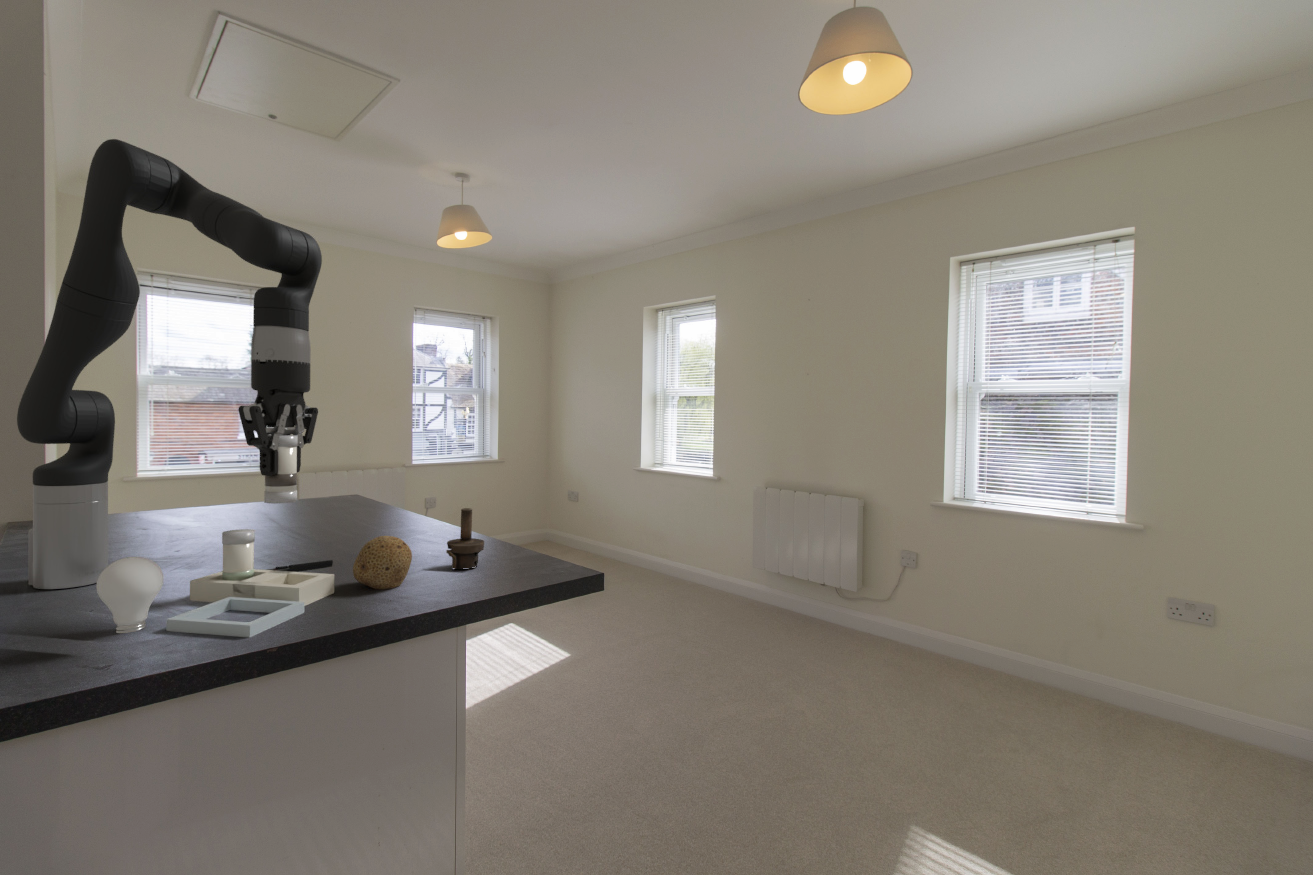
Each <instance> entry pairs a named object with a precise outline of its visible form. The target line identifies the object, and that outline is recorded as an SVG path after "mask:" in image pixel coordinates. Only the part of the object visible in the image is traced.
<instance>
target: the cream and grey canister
mask: <svg viewBox="0 0 1313 875" xmlns="http://www.w3.org/2000/svg"><path fill="white" fill-rule="evenodd" d="M270 437H271V435H268V440H270ZM297 446H298V435H293V434H291V435H281V436H280V438H279V442H278V447H277V449H276V450H278V474H277V475H274V476H264V487H265V488H264V491H263V492H264V493H263V494H264V496H263V497H264V499H263V500H264V503H265V504H274V505H276V504H290V503H295V502H298V490H297V486H298V472H297Z"/></svg>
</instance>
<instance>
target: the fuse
mask: <svg viewBox="0 0 1313 875" xmlns="http://www.w3.org/2000/svg"><path fill="white" fill-rule="evenodd" d="M255 534H256V531H255V529H251V528H250V529H247V528H245V529H244V528H243V529H241V528H239V529H231V530H226V531H223V532H221V544H222V570H221V571H222V579H223V580H227V581H243V580H246V579H249V578H252V577H254V569H255V561H254V560H255V558H254V557H255V552H254V551H255V539H256V538H255V537H256V535H255Z"/></svg>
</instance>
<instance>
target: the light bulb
mask: <svg viewBox="0 0 1313 875" xmlns="http://www.w3.org/2000/svg"><path fill="white" fill-rule="evenodd" d="M162 570H163V569H162V568H161V567H160V566H159V564H157V563H156V561H153V560H151V559H150V558H146V557H144V556H143V557H141V556H129V557H124V558H121V559H118V560H116V561H113V562H112V563H110V564H108V566H107V567H106V568H105V569H104V570H103V571H102V573H101V574H100V576H99V578H98V580H97V583H96V586H95V587H96V593H97V595H98V597H99V598H100V600H101V601H102V602H103V604H105V606H106V607H107V608H108V609H109V611H110V612H111V614H112V620H113V623H114V624H115V625H116V627H115V630H116V631H115V632H116V634H129V633H135V632H138V631H141V630H143V629H145V628H146V623H147V622H146V619H148V616H149V609H150V607H151V605H152V603H153V601H154V600H155V599H156V597H157V596H158V594H159V593H160V591H161V589H162V587H163V585H164V580H165V579H164V573H163V571H162Z"/></svg>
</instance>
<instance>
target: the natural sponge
mask: <svg viewBox="0 0 1313 875" xmlns="http://www.w3.org/2000/svg"><path fill="white" fill-rule="evenodd" d="M412 559H413V553H412V550H411V548H410V546H409V545H408V544H407V542H405V541H404V540H403V539H401V538H399V537H396V536H391V535H381V536H377V537H374V538H372V539H371V540H369V541H368V542H366V543H365V544H364V545H362V547H361V549H360V551H359V552H358V555H357V556H356V558H355V560H354V562H353V564H352V565H353V566H352V574H353V577H354V579H355V580H356V581H357V582H358V583H359V584H362V585H365V586H368V587H370V588H372V589H374V590H389V589H395V588H398V587H400V586H401V585H402V584H403V582H404V581H405V579H406V577H407V575H408V573H409V571H410V568H411V564H412Z"/></svg>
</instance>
